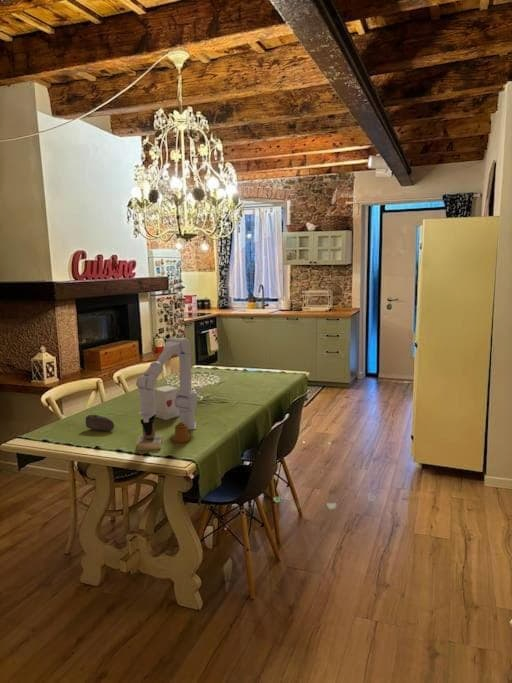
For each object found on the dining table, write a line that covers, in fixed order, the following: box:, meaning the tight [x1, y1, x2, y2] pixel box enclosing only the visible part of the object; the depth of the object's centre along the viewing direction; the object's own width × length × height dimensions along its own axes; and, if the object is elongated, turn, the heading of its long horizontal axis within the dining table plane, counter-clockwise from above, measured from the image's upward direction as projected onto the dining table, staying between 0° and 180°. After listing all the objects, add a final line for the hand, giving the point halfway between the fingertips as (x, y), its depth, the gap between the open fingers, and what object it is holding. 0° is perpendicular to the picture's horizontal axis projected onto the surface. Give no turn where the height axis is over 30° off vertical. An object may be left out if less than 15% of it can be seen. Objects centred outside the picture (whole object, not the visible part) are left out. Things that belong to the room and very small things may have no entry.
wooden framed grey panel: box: [135, 433, 164, 451], centre depth 211 cm, size 10×10×3 cm
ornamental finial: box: [173, 422, 192, 444], centre depth 216 cm, size 8×8×8 cm
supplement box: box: [153, 385, 179, 421], centre depth 249 cm, size 9×9×15 cm
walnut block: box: [142, 421, 156, 439], centre depth 210 cm, size 4×4×6 cm
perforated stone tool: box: [85, 414, 115, 432], centre depth 232 cm, size 15×5×7 cm, turn 68°
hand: (149, 433), depth 211 cm, fingers closed on walnut block, 4 cm apart
